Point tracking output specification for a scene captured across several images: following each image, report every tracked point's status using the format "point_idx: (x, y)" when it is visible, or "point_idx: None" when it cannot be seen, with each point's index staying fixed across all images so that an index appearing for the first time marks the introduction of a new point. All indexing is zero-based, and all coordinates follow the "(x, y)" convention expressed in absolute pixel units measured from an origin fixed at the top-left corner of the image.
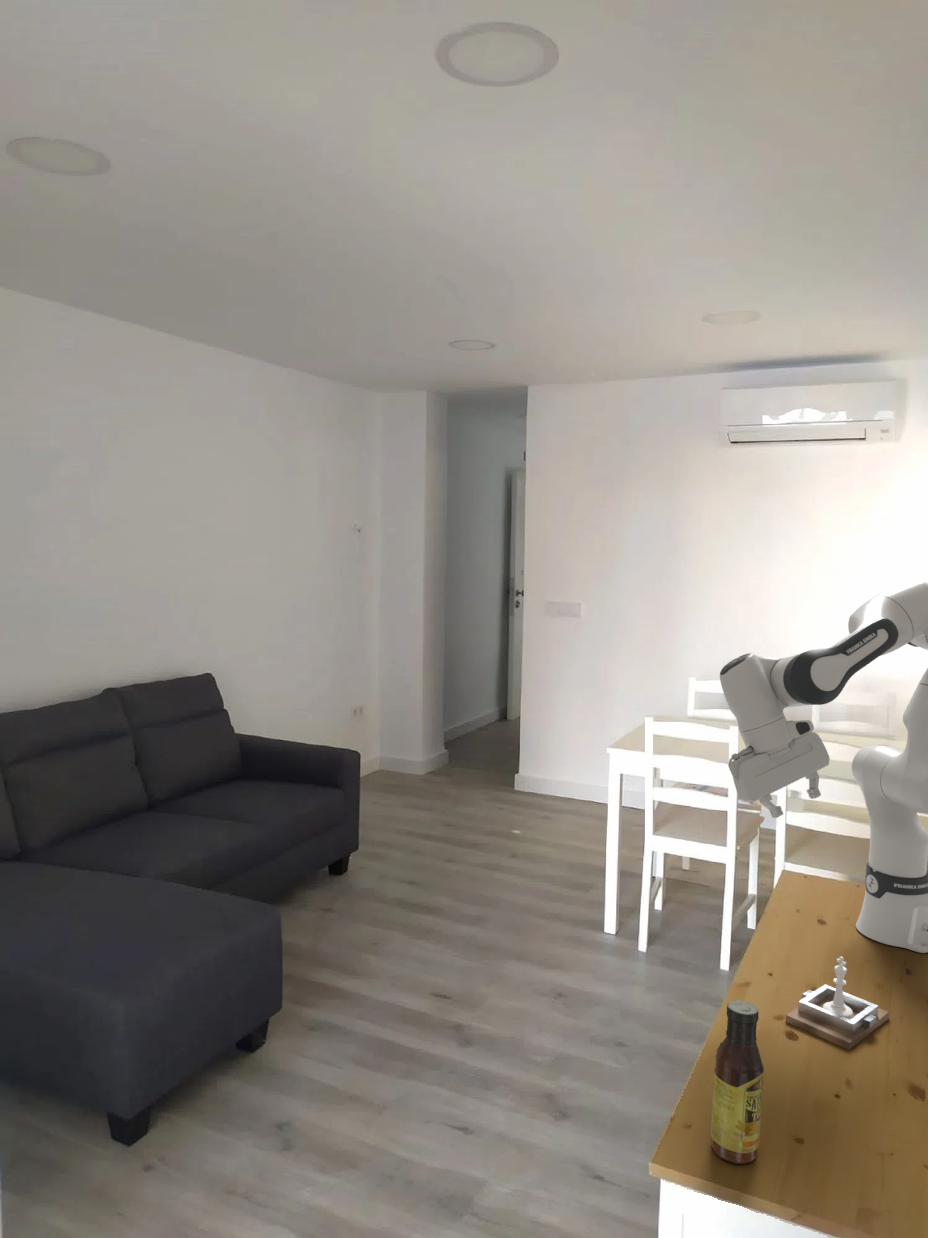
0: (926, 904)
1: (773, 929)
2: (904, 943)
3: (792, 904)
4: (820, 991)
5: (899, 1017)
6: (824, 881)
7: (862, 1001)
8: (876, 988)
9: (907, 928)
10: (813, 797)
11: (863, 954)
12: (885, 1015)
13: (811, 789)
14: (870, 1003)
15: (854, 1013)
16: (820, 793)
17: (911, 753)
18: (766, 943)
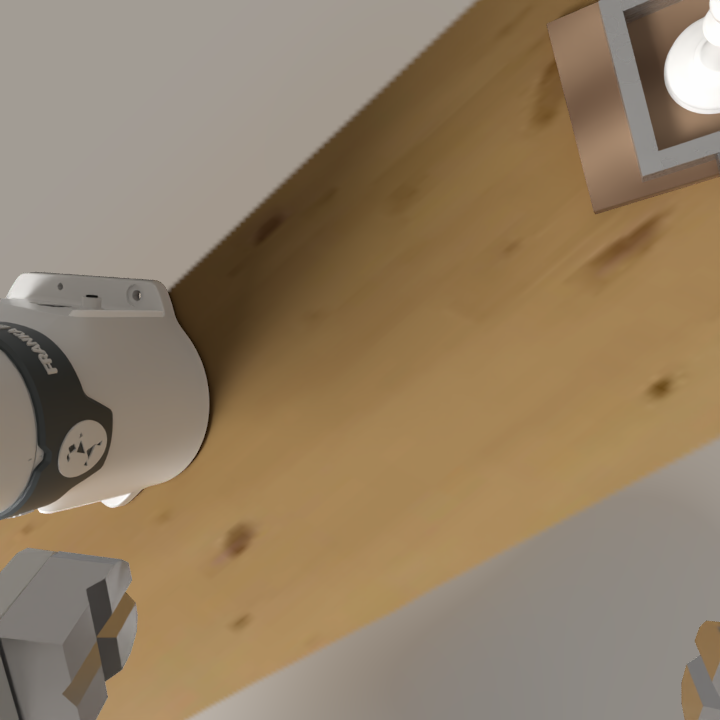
0: (33, 315)
1: (396, 586)
2: (169, 322)
3: (223, 656)
4: (706, 139)
5: (509, 31)
6: None
7: (625, 38)
8: (424, 187)
9: (135, 322)
10: (122, 590)
11: (292, 349)
12: (571, 13)
13: (50, 671)
14: (611, 19)
15: (661, 46)
16: (15, 557)
17: None
18: (492, 537)
